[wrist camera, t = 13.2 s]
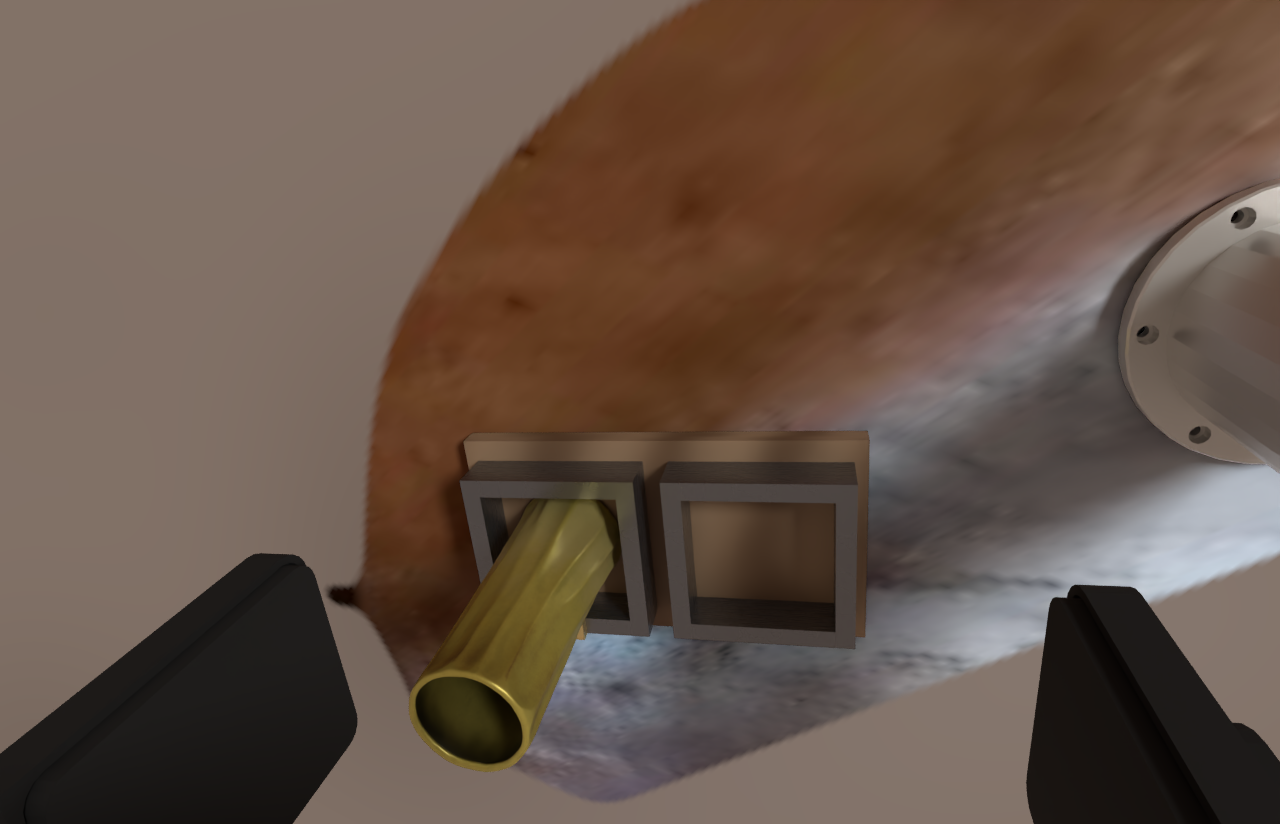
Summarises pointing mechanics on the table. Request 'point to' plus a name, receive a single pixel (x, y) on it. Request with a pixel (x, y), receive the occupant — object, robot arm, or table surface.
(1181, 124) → the table surface
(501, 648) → the vase
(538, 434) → the board
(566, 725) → the table surface
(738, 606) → the two-cubby wall shelf
